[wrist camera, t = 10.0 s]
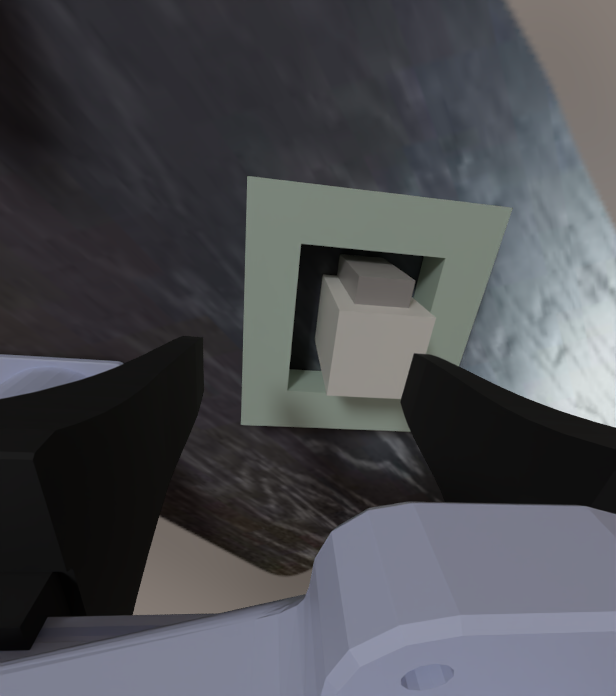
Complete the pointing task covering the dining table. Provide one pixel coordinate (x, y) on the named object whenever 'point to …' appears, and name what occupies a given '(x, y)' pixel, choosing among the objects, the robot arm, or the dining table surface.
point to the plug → (369, 328)
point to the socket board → (364, 234)
